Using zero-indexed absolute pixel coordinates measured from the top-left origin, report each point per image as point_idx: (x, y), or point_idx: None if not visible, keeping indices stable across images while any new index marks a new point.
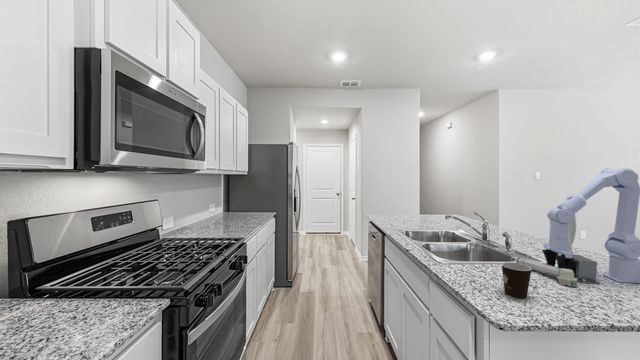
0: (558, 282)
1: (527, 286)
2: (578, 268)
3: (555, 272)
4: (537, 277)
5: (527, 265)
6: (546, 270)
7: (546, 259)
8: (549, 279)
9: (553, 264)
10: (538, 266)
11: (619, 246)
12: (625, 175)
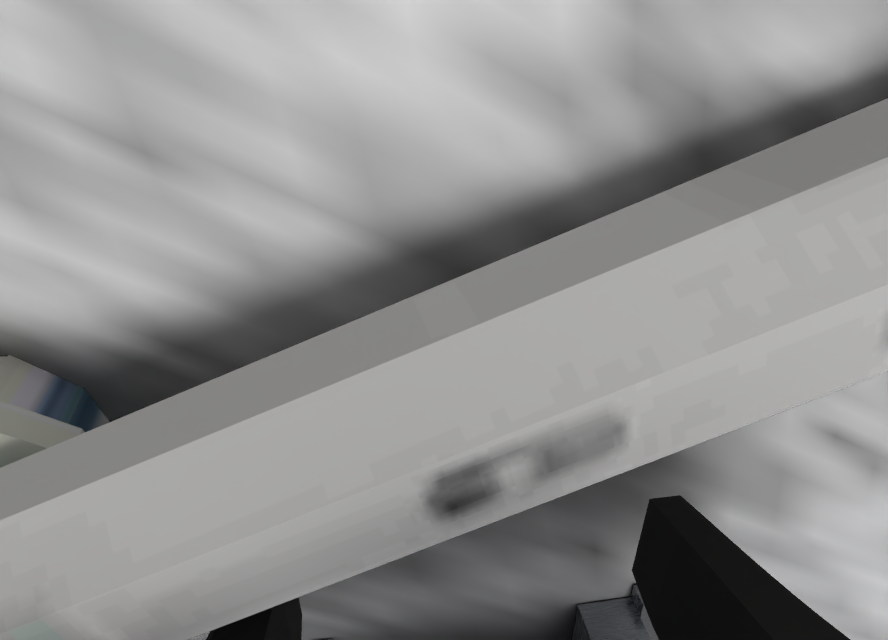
0: (2, 357)
1: None
2: None
3: (23, 475)
4: (236, 39)
5: None
6: (301, 349)
7: (815, 637)
8: (176, 269)
9: (670, 628)
10: (583, 271)
11: None
12: None
